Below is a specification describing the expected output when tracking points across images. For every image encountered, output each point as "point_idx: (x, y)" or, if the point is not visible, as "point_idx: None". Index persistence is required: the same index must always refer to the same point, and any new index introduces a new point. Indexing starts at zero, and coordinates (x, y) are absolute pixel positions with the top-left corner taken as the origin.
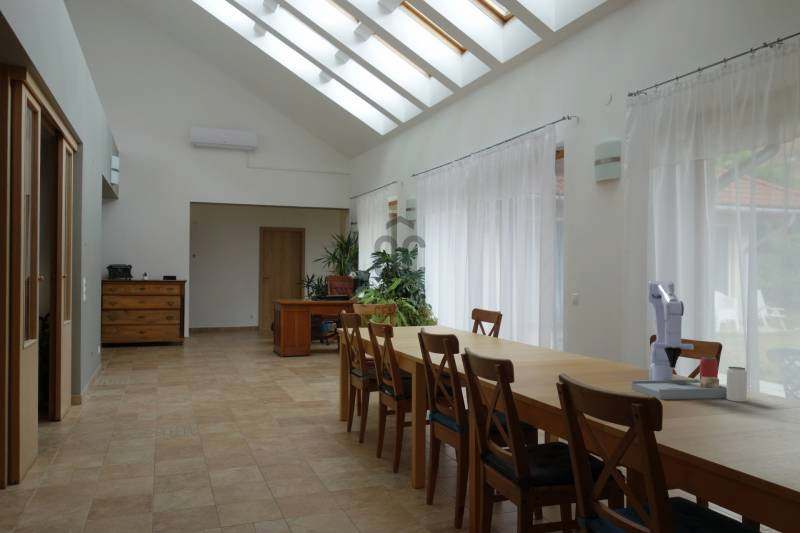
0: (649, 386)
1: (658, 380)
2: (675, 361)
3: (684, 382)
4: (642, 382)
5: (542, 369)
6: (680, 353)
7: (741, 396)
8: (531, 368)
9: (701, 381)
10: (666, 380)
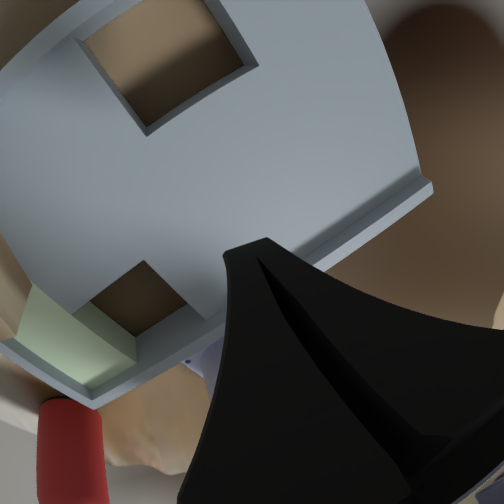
0: (361, 101)
1: None
2: (249, 295)
3: (141, 361)
4: (380, 208)
5: None
6: (193, 463)
7: None
8: None
9: (14, 298)
10: None
